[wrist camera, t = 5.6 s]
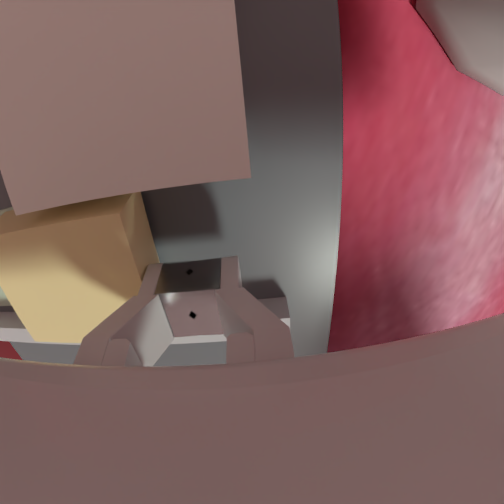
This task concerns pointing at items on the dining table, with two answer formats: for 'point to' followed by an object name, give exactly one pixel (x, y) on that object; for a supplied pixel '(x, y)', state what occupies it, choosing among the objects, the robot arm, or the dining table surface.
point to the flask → (470, 36)
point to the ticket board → (277, 186)
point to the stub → (74, 264)
